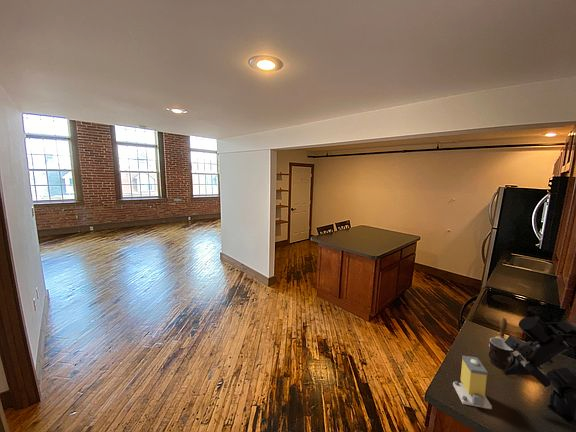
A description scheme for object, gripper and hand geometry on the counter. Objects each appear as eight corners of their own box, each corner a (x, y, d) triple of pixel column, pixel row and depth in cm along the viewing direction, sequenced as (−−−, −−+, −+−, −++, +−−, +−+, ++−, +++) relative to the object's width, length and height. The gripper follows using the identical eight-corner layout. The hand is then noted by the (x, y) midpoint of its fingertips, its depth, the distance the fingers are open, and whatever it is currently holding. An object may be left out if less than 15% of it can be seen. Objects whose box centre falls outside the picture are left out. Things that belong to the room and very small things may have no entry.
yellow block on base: (474, 385, 97) (477, 355, 95) (484, 402, 89) (487, 370, 88) (459, 383, 98) (462, 353, 96) (468, 399, 91) (471, 367, 89)
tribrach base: (477, 387, 98) (479, 377, 97) (492, 411, 88) (494, 400, 87) (452, 382, 100) (453, 373, 99) (463, 405, 90) (464, 394, 89)
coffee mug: (502, 358, 114) (505, 338, 113) (517, 372, 106) (521, 350, 104) (475, 356, 115) (477, 336, 114) (488, 370, 107) (491, 349, 105)
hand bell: (508, 347, 122) (512, 316, 120) (513, 357, 115) (517, 325, 113) (487, 341, 126) (490, 312, 124) (490, 351, 119) (494, 319, 117)
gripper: (511, 318, 97) (476, 341, 101) (539, 346, 79) (496, 372, 84) (536, 341, 95) (500, 363, 99) (572, 375, 77) (526, 400, 82)
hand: (504, 373), depth 91 cm, fingers closed
